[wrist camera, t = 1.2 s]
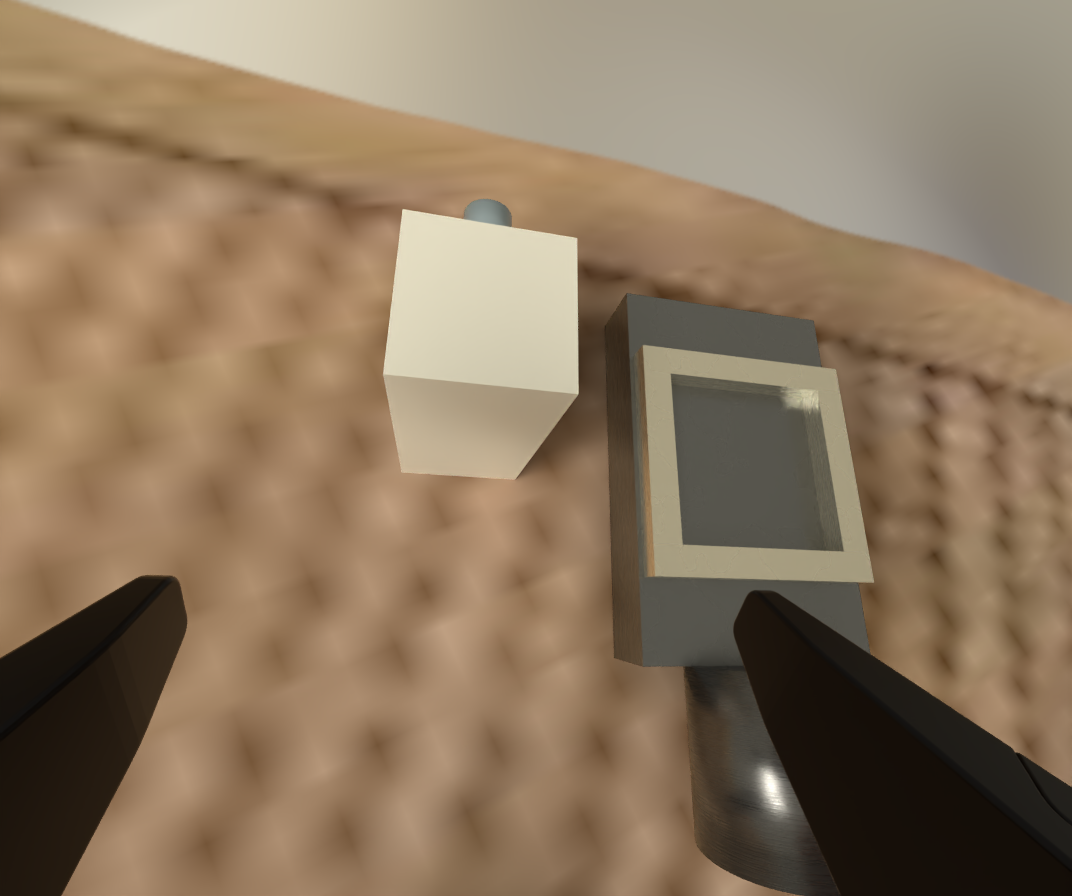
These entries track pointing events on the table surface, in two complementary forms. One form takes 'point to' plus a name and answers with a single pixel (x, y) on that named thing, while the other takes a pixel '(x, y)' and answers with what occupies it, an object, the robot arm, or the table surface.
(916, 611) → the table surface
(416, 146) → the table surface
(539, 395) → the cream block
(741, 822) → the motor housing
